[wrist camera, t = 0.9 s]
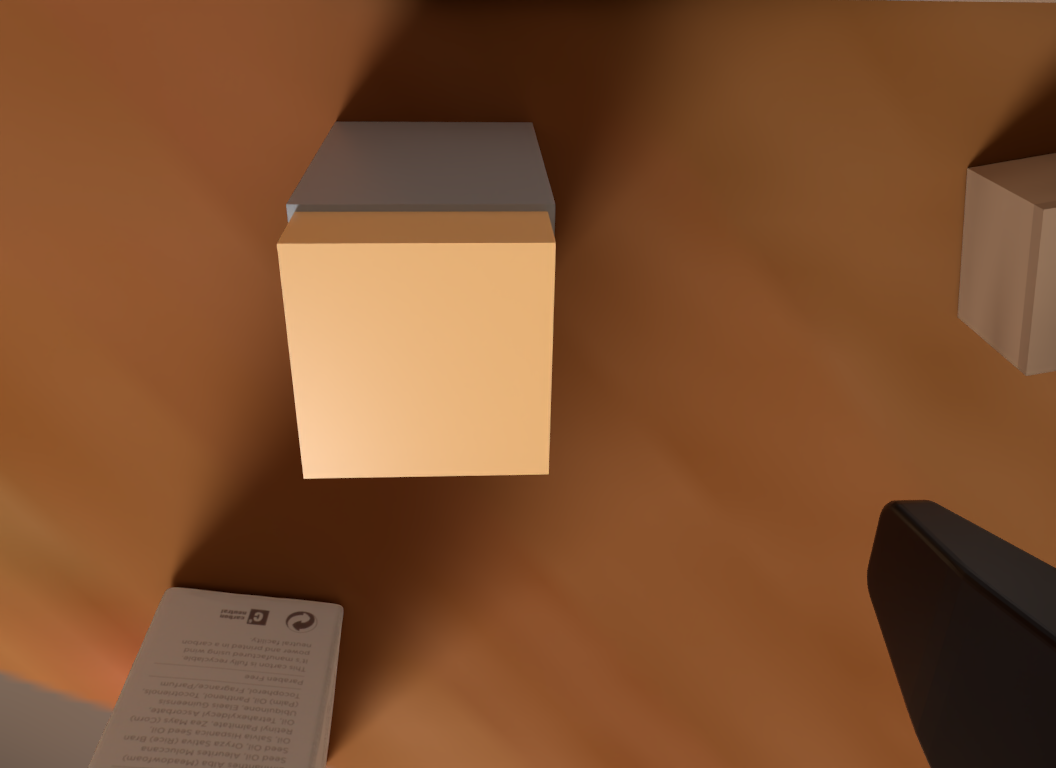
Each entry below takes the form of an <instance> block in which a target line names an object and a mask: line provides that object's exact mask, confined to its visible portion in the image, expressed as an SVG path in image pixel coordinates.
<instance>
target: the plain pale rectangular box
mask: <svg viewBox="0 0 1056 768" xmlns="http://www.w3.org/2000/svg"><path fill="white" fill-rule="evenodd" d="M958 318H959V319H960V320H962V321H963V322H964V323H965V324H966V325H967V326H969V327H970V328H971V329H972V330H973V331H974V332H976V333H977V334H978V335H979V336H980V337H981V338H983V339H984V340H985V341H986V342H987V343H988V344H990V345H991V346H992V347H993V348H994V349H995V350H997V351H998V352H999V353H1000V354H1001V355H1002V356H1003V357H1005V358H1006V359H1007V360H1008V361H1009V362H1010V363H1012V364H1013V365H1014V366H1015V367H1016V368H1017V369H1019V370H1020V371H1021V372H1022V373H1023V374H1024V375H1026V376H1028V375H1034V374H1040V373H1046V372H1052V371H1056V153H1053V154H1047V155H1041V156H1035V157H1029V158H1024V159H1018V160H1012V161H1006V162H1000V163H995V164H989V165H983V166H977V167H971V168H967V182H966V197H965V212H964V228H963V243H962V259H961V274H960V289H959V305H958Z"/></svg>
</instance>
